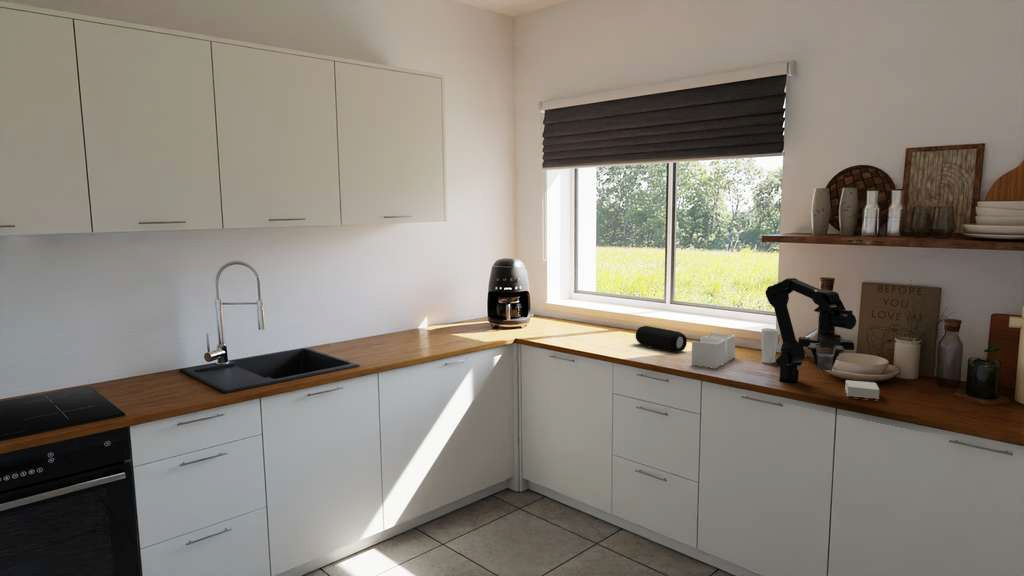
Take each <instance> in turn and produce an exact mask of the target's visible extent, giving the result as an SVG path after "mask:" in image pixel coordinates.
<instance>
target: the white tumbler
mask: <svg viewBox="0 0 1024 576" xmlns="http://www.w3.org/2000/svg"><path fill="white" fill-rule="evenodd" d="M760 335H761V336H760V337H761V340H760V341H761V362H762V363H764V364H767V365H768V364H772V365H773V364H774V363H776V354H777V353H776V351H777V346H778V340H779V339H778V337H779V330H778V329H776V328H768V327H767V328H762V329H761V334H760Z"/></svg>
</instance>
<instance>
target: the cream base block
mask: <svg viewBox="0 0 1024 576" xmlns="http://www.w3.org/2000/svg"><path fill="white" fill-rule="evenodd" d="M845 390H846V391H845ZM844 391H845V394H846V393H847V394H846V396H854V397H864V398H876V399H879V400H880V388H879V386H878V385H877V383H876V382H873V381H871V382H870V381H859V380H848V379H846V380H845V389H844Z"/></svg>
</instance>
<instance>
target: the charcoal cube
mask: <svg viewBox="0 0 1024 576" xmlns="http://www.w3.org/2000/svg"><path fill="white" fill-rule="evenodd" d="M832 364H833V354H829V353H828V354H827V353H826V354H825V353H817V365H816V370H819V371H821V370H822V371H833V367H832Z"/></svg>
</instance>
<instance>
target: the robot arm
mask: <svg viewBox="0 0 1024 576" xmlns="http://www.w3.org/2000/svg"><path fill="white" fill-rule="evenodd" d="M793 292H795V293H798V294H800V295H802V296H805V297H807V298H809V299H811V300H812V301H813V303H814V304H815V305H817V307H816V308H815V309H814V310H813V312H816V313H818V322H817V326H818V327H817V339H811V338H810V336H799V337H798V338H797V339H796V334H795V331H794V328H793V324H792V320H791V315H790V312H789V308H788V303H789V300H790V294H791V293H793ZM765 297H766V299H767V302H768V303H769V304H770V305H771V307H773V309H774V313H775V317H776V321H777V325H778V328H779V332H780V336H781V340H782V344H781V346H780V356H778V357H777V358H775V364H776V366H778V367H779V377H778V380H779V382H782V381H785V382H784V383H792V382H795V384H797V383H798V381H799V374H800V373H799V371H800V369H798V366H799V367H800V366H802V365H803V362H804V360H805V358H806V351H805V347H806V348H807V350H811V351H810V352H811V353H812V357H813V359H814V363H815V366H817V354H818V353H817V346H819V347H820V348H823V349H824V348H825V349H827V348H828V349H833V352H832V353H833V354H832V356H833V364H832V368H833V367H834V365H835V363H836V361H837V359H838V356H839V355H840V354H841V353H843V352H845V351H846V350H847V351H854V350H855V343H854V341H853V340H852V339H841V334H838V335H837V334H835V333H836V328H839V329H845V330H848V331H849V330H850V331H851V330H852V329H854V328H855V327H856V324H857V319H856V315H855V314H853V310H846V307H845V305H844V303H843V301H842V300H841V297H840V294H839V293H838V292H837V291H835V290H829V289H822V288H817V287H815V286H814V285H811V284H808V283H807V282H804V281H802V280H799V279H798V278H795V277H791V278H790V277H789V278H786V279H783V280H782V281H780V282H777V283H775V284H773V285H769V286H768V287H767V288H766V290H765ZM797 340H798V341H797Z"/></svg>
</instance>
